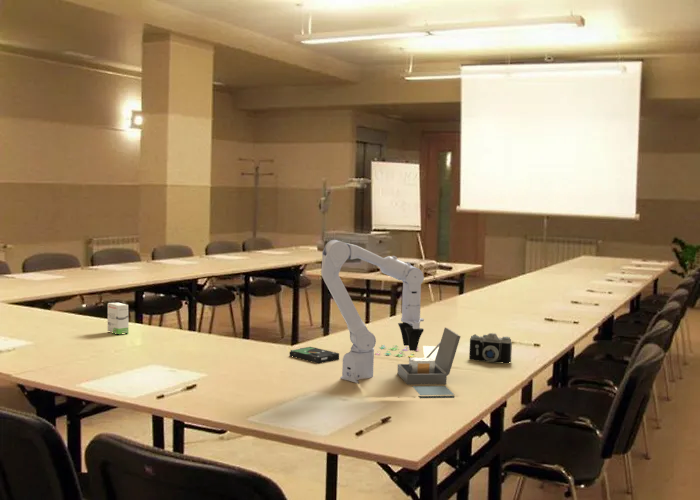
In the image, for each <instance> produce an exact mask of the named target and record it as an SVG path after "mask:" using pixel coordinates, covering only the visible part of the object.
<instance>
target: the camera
mask: <svg viewBox="0 0 700 500" xmlns="http://www.w3.org/2000/svg"><path fill="white" fill-rule="evenodd" d="M512 348H513V342H512V339H511V337H510V336H502V337H499V336H498V334H497V333H493V332H492V333H491V332H489V333H488V334H483V335H482V336H481V335H480V336H479V335H477V334H473V335H471V336H470V339H469V361H477V360H479V361H478V362H486V361H489V362H488V363H495V362H503V363H502V364H504V363H509V362H511V363H512V353H513V349H512ZM509 364H510V363H509Z"/></svg>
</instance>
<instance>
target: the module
mask: <svg viewBox="0 0 700 500" xmlns="http://www.w3.org/2000/svg"><path fill="white" fill-rule="evenodd" d="M408 364H409V374H434V372H435V360H433V359H432V358H424V357H409V358H408Z"/></svg>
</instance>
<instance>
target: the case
mask: <svg viewBox="0 0 700 500" xmlns="http://www.w3.org/2000/svg"><path fill="white" fill-rule="evenodd" d="M460 340H461V335H459V334H458V333H456V332H455V331H453V330H452V329H450V328H448V327H444V329H443V332H442V337H441V339H440V342H438V343H437V345H436V347H435V348H434V349H433V350H432V351H431V353H430V354H429V355H428V356H427V357H426V358H429V357H430V355H431V354H432V353H433V352H434V351H435V350H436V349H437V348H438V347H439V349H438V352H437V355H436V357H435V360H434V361H435V372H434V374H409V363H398V364H397V375H398V376H399V377H400V378H401V379H402V380H403V382H404V383H405V384H406V385H408V386H409V385H412V386H417V385H447V378H448V377H447V376H449V375H450V373H451V369H452V366H453V363H454V359H455V355H456V353H457V349H458V346H459V343H460Z"/></svg>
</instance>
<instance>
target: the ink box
mask: <svg viewBox="0 0 700 500" xmlns="http://www.w3.org/2000/svg"><path fill="white" fill-rule="evenodd" d="M107 331H110V332H113V333H116V334H122V333H128V334H129V304H125V303H121V302H108V303H107Z"/></svg>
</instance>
